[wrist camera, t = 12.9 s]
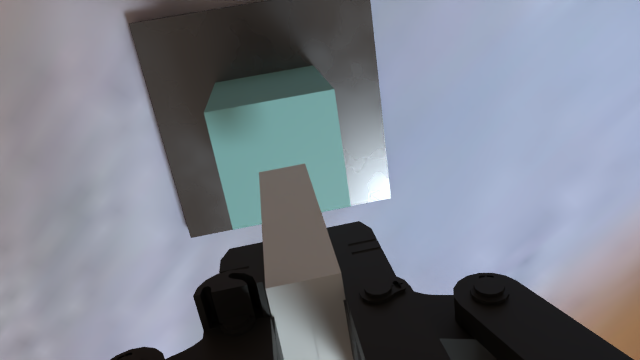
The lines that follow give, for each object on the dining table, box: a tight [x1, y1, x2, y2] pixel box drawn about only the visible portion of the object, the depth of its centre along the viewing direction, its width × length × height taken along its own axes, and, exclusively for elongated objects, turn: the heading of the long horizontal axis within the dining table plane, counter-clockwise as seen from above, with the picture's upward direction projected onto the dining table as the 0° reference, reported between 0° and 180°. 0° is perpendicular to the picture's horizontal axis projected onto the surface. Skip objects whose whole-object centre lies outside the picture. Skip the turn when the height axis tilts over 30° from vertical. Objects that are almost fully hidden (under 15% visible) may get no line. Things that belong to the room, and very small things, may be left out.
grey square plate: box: [129, 0, 391, 238], centre depth 24 cm, size 12×12×6 cm
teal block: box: [204, 65, 351, 230], centre depth 23 cm, size 5×5×7 cm
